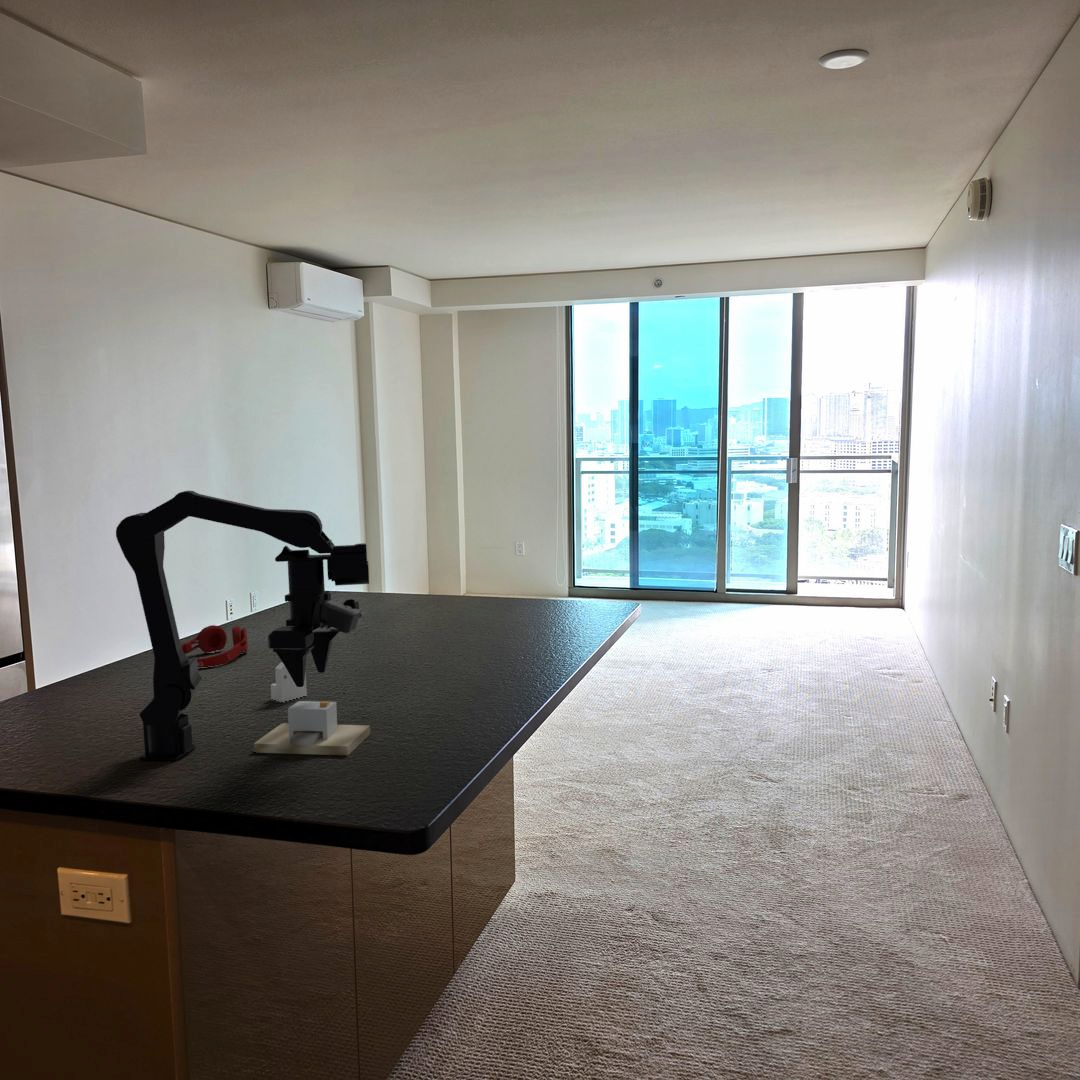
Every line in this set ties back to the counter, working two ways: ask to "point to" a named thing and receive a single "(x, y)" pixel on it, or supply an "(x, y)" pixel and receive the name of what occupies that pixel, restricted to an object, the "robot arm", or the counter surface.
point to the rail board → (312, 741)
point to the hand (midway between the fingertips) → (311, 679)
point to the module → (313, 717)
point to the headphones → (217, 645)
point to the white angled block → (286, 686)
